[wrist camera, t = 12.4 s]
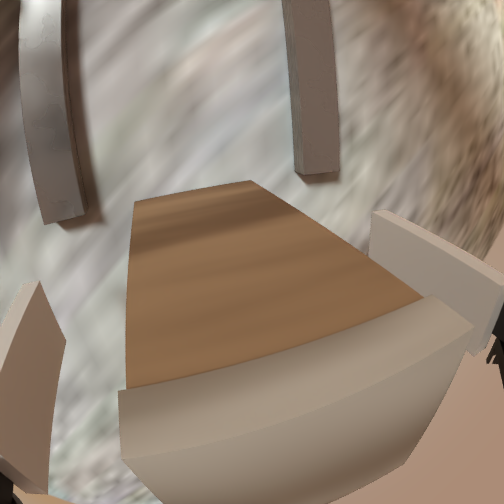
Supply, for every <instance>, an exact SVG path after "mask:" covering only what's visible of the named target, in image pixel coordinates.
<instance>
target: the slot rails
mask: <svg viewBox="0 0 504 504" xmlns="http://www.w3.org/2000/svg"><path fill="white" fill-rule="evenodd" d="M282 7H283V16H284V26H285V36H286V47H287V58H288V70H289V83H290V96H291V111H292V127H293V145H294V165H295V172H298V173H300V174H302V175H309V174H317V173H326V172H335V171H340V167H339V123H338V101H337V84H336V70H335V57H334V46H333V36H332V27H331V18H330V10H329V2H328V0H282ZM19 77H20V92H21V104H22V114H23V122H24V130H25V137H26V143H27V149H28V155H29V161H30V166H31V171H32V176H33V181H34V185H35V190H36V194H37V198H38V203H39V207H40V210H41V214H42V218H43V222H44V225H47V224H51V223H54V222H58V221H62V220H66V219H70V218H74V217H78V216H82V215H85V213H86V212H87V210H88V205H87V200H86V196H85V191H84V186H83V181H82V176H81V171H80V166H79V160H78V154H77V148H76V142H75V136H74V129H73V121H72V113H71V104H70V95H69V84H68V70H67V51H66V0H21V2H20V17H19Z"/></svg>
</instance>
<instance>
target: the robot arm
mask: <svg viewBox="0 0 504 504" xmlns="http://www.w3.org/2000/svg"><path fill="white" fill-rule="evenodd" d="M368 257H369V258H370V259H372V260H373V261H375V262H376V263H378V264H379V265H380V266H382V267H383V268H385V269H386V270H387V271H389V272H390V273H392V274H393V275H394V276H396V277H397V278H399V279H400V280H401V281H403V282H404V283H405V284H407V285H408V286H409V287H411V288H412V289H414V290H415V291H416V292H418V293H419V294H420V295H422V296H423V297H424V298H425V297H427V296H429V295H434V296H435V297H436V298H438V299H439V300H440V301H442V302H443V303H445V304H446V305H447V306H449V307H450V308H451V309H453V310H454V311H455V312H457V313H458V314H459V315H461V316H462V317H463V318H464V319H466V320H467V321H468V322H470V323H471V324H472V325H474V326H475V328H474V331H473V334H472V336H471V339H470V341H469V344H468V346H467V349H466V350H467V351H468V352H469V353H470V354H471V355H472V356H475V355H477V354H478V353H479V352H481V351H482V350H483V349H485V348H486V346H487V344H488V341H489V339H490V337H491V334H494V335H495V336H496V337H497V338H496V340H495V342H494V344H493V346H492V349H491V351H490V353H489V355H488V357H487V359H486V362H487V364H489V362H490V360H491V358H492V356H493V355H496V356H495V358H494V360H493V364H498V365H499V369H500V374H501V378H502V383H503V388H504V274H503V273H501V272H499V271H498V270H496V269H495V268H493V267H492V266H490V265H488V264H486V263H485V262H483V261H481V260H480V259H478V258H476V257H475V256H473V255H471V254H469V253H468V252H466V251H464V250H462V249H461V248H459V247H457V246H455V245H453V244H452V243H450V242H448V241H446V240H444V239H442V238H441V237H439V236H437V235H435V234H433V233H431V232H429V231H427V230H425V229H424V228H422V227H420V226H418V225H416V224H414V223H412V222H410V221H408V220H406V219H404V218H402V217H400V216H398V215H396V214H394V213H392V212H390V211H388V210H385V209H384V210H379V211H373V212H372V215H371V230H370V242H369V253H368ZM65 345H66V339H65V337H64V335H63V333H62V331H61V329H60V327H59V325H58V323H57V320H56V318H55V316H54V314H53V312H52V309H51V307H50V305H49V302H48V300H47V298H46V295H45V293H44V290H43V288H42V285H41V283H40V281H35V282H31V283H27V284H23V285H22V287H21V289H20V290H19V292H18V294H17V296H16V298H15V300H14V301H13V303H12V305H11V307H10V309H9V311H8V313H7V315H6V317H5V319H4V321H3V323H2V325H1V327H0V504H23V503H22V502H21V501H20V499H19V498H18V497H17V496H16V495H15V494H14V493H13V483H14V484H15V485H16V486H17V487H19V488H20V489H21V490H23V491H24V492H25V493H31V494H48V473H49V455H50V442H51V432H52V422H53V414H54V407H55V399H56V393H57V387H58V381H59V375H60V369H61V364H62V359H63V354H64V349H65Z"/></svg>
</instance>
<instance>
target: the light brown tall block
mask: <svg viewBox="0 0 504 504" xmlns="http://www.w3.org/2000/svg"><path fill="white" fill-rule="evenodd" d="M474 328H475V326H474V325H472V324H471V323H470V322H468V321H467V320H466V319H464V318H463V317H462V316H461V315H459V314H458V313H457V312H455V311H454V310H453V309H451V308H450V307H449V306H447V305H446V304H445V303H443V302H442V301H440V300H439V299H438V298H436V297H435V296H434V295H429V296H427V297H425V298H424V297H423V296H422V295H420V294H419V293H418V292H416V291H415V290H414V289H412V288H411V287H409V286H408V285H407V284H405V283H404V282H403V281H401V280H400V279H399V278H397V277H396V276H394V275H393V274H392V273H390V272H389V271H387V270H386V269H385V268H383V267H382V266H380V265H379V264H378V263H376V262H375V261H373V260H372V259H370V258H369V257H368V256H366V255H365V254H363V253H362V252H360V251H359V250H358V249H356V248H355V247H353V246H352V245H350V244H349V243H347V242H346V241H344V240H343V239H341V238H340V237H338V236H337V235H335V234H334V233H333V232H331V231H330V230H328V229H327V228H325V227H324V226H322V225H320V224H319V223H317V222H316V221H314V220H313V219H311V218H310V217H308V216H307V215H305V214H304V213H302V212H301V211H299V210H297V209H296V208H294V207H293V206H291V205H290V204H288V203H287V202H285V201H283V200H282V199H280V198H279V197H277V196H275V195H274V194H272V193H271V192H269V191H267V190H266V189H264V188H263V187H261V186H259V185H258V184H256V183H255V182H253V181H251V180H249V181H242V182H236V183H230V184H224V185H218V186H212V187H207V188H201V189H196V190H190V191H185V192H180V193H175V194H170V195H165V196H160V197H155V198H150V199H145V200H141V201H136V202H135V203H134V211H133V220H132V229H131V239H130V251H129V264H128V279H127V299H126V390H120V391H118V406H119V429H120V444H121V457H122V460H123V461H124V463H125V464H126V465H127V466H128V467H129V468H130V469H131V470H132V472H133V473H134V474H135V475H136V476H137V477H138V478H139V479H140V480H141V481H142V482H143V484H144V485H145V486H146V487H147V488H148V489H149V490H150V491H151V492H152V493H153V494H154V495H155V496H156V497H157V498H158V499H159V500H160V501H161V502H162V503H163V504H328V503H330V502H333V501H335V500H337V499H339V498H341V497H344V496H346V495H348V494H350V493H352V492H354V491H356V490H358V489H360V488H362V487H364V486H366V485H368V484H370V483H372V482H374V481H375V480H377V479H379V478H381V477H382V476H384V475H386V474H388V473H390V472H391V471H393V470H394V469H396V468H398V467H400V466H401V465H403V464H404V463H405V462H406V460H407V459H408V457H409V456H410V454H411V453H412V451H413V450H414V448H415V447H416V445H417V443H418V442H419V440H420V439H421V437H422V435H423V434H424V432H425V430H426V429H427V427H428V425H429V423H430V422H431V420H432V418H433V417H434V415H435V413H436V411H437V409H438V407H439V405H440V404H441V402H442V400H443V398H444V396H445V394H446V392H447V390H448V388H449V386H450V384H451V382H452V380H453V378H454V375H455V374H456V371H457V369H458V367H459V365H460V362H461V360H462V358H463V355H464V353H465V351H466V349H467V346H468V344H469V341H470V339H471V336H472V334H473V331H474Z"/></svg>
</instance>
